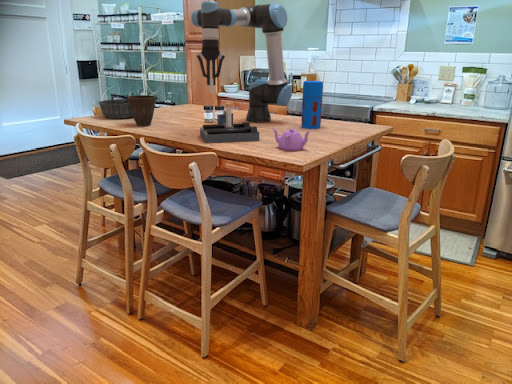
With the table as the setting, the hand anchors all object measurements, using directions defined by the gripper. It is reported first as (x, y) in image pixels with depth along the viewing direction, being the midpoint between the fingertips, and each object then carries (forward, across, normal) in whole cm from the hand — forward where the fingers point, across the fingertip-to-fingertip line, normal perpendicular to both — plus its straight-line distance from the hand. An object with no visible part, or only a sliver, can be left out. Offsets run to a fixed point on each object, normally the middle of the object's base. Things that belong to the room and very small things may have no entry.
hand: (211, 92), depth 194 cm
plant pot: (+22, +32, -44) cm, 59 cm away
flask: (+22, -10, -20) cm, 32 cm away
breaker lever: (+17, -8, 0) cm, 19 cm away
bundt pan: (+22, +45, -78) cm, 93 cm away
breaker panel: (+22, -8, 0) cm, 24 cm away
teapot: (+22, -31, +27) cm, 47 cm away
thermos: (+22, -59, -19) cm, 66 cm away
